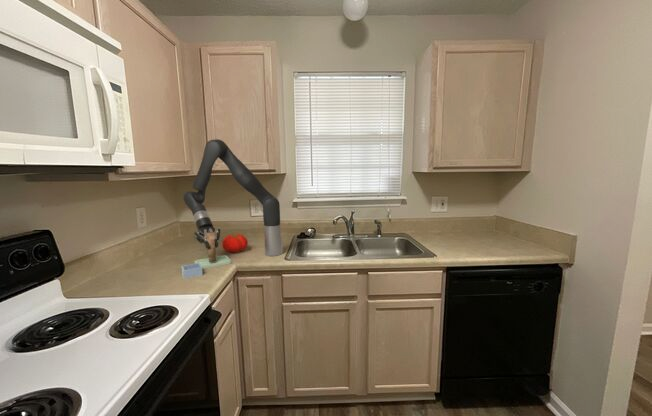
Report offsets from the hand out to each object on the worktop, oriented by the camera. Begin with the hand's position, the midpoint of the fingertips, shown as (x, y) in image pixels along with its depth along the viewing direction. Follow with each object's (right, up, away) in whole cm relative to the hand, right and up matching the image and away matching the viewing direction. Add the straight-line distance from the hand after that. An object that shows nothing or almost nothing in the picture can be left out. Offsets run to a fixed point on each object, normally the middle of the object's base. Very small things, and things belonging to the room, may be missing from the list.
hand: (213, 247), depth 139 cm
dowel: (-1, -7, +2) cm, 8 cm away
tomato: (+3, -6, +26) cm, 27 cm away
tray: (-1, -9, +3) cm, 10 cm away
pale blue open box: (-4, -12, -12) cm, 17 cm away
